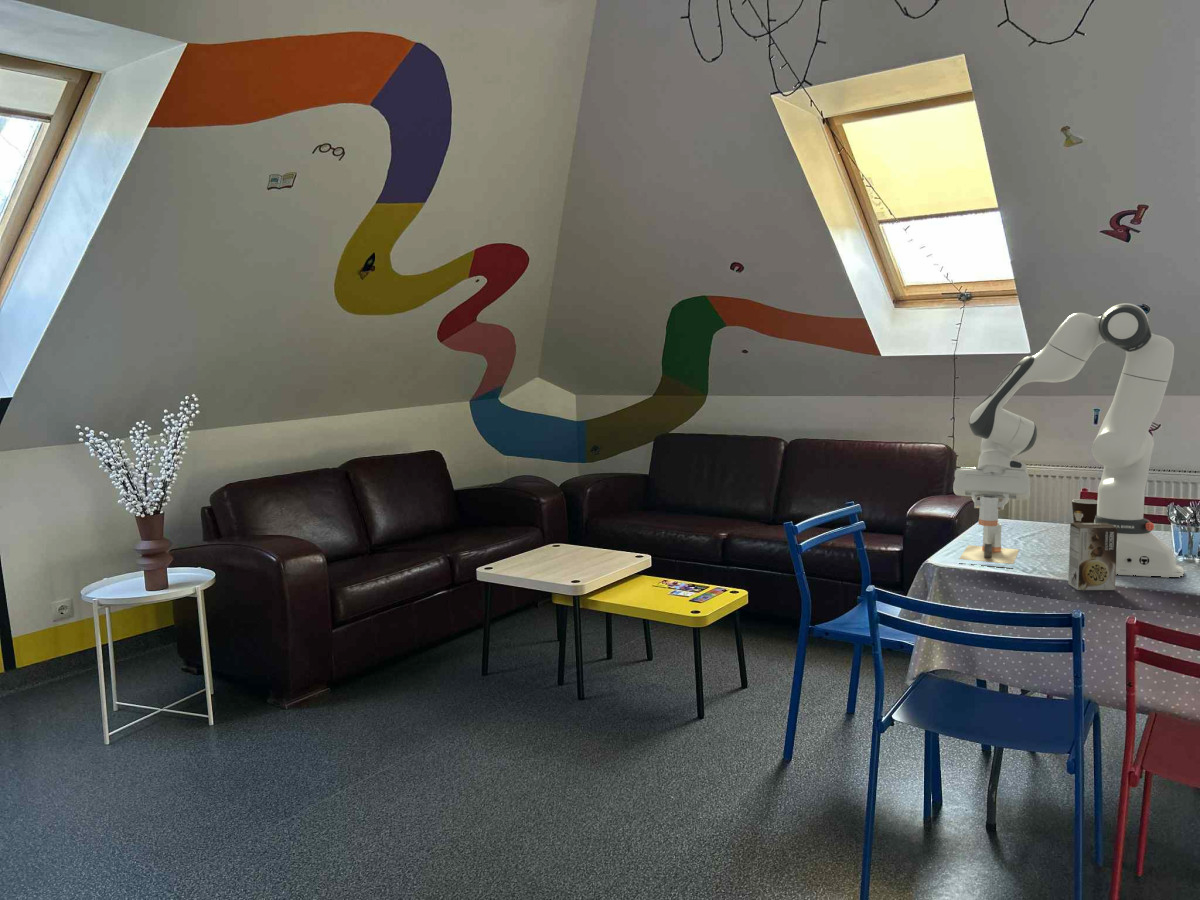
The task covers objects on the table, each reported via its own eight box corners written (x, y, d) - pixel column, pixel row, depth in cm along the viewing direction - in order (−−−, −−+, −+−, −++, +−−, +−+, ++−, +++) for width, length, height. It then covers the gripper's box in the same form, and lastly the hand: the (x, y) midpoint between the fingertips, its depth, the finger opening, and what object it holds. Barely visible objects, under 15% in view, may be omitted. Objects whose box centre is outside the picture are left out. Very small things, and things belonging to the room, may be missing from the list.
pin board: (1019, 554, 267) (1019, 536, 266) (1013, 569, 249) (1013, 549, 249) (968, 550, 274) (968, 532, 273) (958, 564, 256) (959, 544, 256)
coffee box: (1104, 584, 233) (1107, 522, 231) (1115, 591, 226) (1119, 527, 224) (1066, 583, 233) (1069, 522, 232) (1077, 590, 227) (1080, 526, 225)
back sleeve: (1001, 549, 267) (1002, 522, 266) (999, 553, 262) (1000, 525, 262) (983, 548, 269) (984, 521, 268) (981, 551, 265) (982, 524, 264)
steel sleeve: (998, 523, 257) (999, 495, 256) (996, 526, 253) (997, 498, 252) (979, 522, 259) (981, 494, 258) (977, 525, 255) (979, 497, 254)
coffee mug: (1065, 529, 303) (1066, 499, 302) (1091, 528, 303) (1092, 499, 301) (1083, 536, 291) (1085, 505, 290) (1110, 535, 291) (1112, 505, 290)
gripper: (954, 460, 265) (948, 498, 258) (1032, 464, 255) (1027, 504, 248) (956, 473, 270) (950, 511, 262) (1032, 477, 260) (1028, 517, 252)
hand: (988, 507), depth 255 cm, fingers closed on steel sleeve, 5 cm apart
